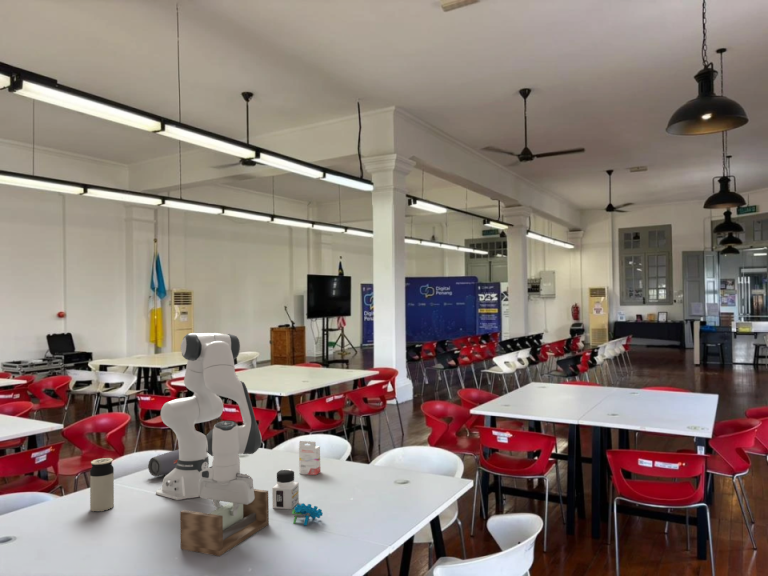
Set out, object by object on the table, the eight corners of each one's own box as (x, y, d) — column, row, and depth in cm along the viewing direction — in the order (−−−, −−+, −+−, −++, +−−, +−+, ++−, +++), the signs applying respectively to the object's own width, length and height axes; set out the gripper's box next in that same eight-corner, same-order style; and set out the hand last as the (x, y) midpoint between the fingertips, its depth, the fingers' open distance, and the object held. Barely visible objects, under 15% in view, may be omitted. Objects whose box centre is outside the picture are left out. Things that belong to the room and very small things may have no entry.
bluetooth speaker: (160, 480, 244) (160, 457, 245) (147, 477, 249) (147, 455, 250) (202, 467, 264) (202, 446, 264) (189, 464, 269) (189, 444, 269)
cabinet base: (180, 548, 174) (180, 511, 174) (233, 518, 198) (232, 486, 198) (219, 556, 168) (219, 517, 169) (268, 524, 192) (268, 490, 193)
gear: (327, 514, 196) (315, 501, 190) (324, 531, 192) (311, 518, 186) (300, 515, 200) (287, 502, 194) (296, 531, 195) (283, 518, 189)
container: (291, 509, 206) (291, 474, 206) (272, 508, 208) (271, 473, 208) (299, 502, 214) (298, 468, 214) (280, 501, 215) (279, 467, 216)
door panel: (208, 539, 177) (208, 513, 178) (236, 523, 190) (235, 499, 190) (216, 540, 176) (216, 514, 176) (243, 524, 189) (243, 500, 189)
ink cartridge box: (321, 472, 252) (320, 439, 253) (316, 475, 248) (316, 442, 248) (303, 470, 255) (303, 438, 255) (299, 474, 250) (298, 441, 251)
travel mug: (118, 506, 213) (118, 458, 214) (100, 513, 206) (99, 464, 207) (104, 503, 217) (103, 456, 217) (85, 510, 209) (85, 462, 210)
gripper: (258, 472, 183) (258, 514, 182) (208, 466, 191) (208, 507, 190) (246, 477, 177) (247, 521, 176) (195, 471, 185) (195, 513, 184)
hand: (226, 514), depth 183 cm, fingers open, 4 cm apart
